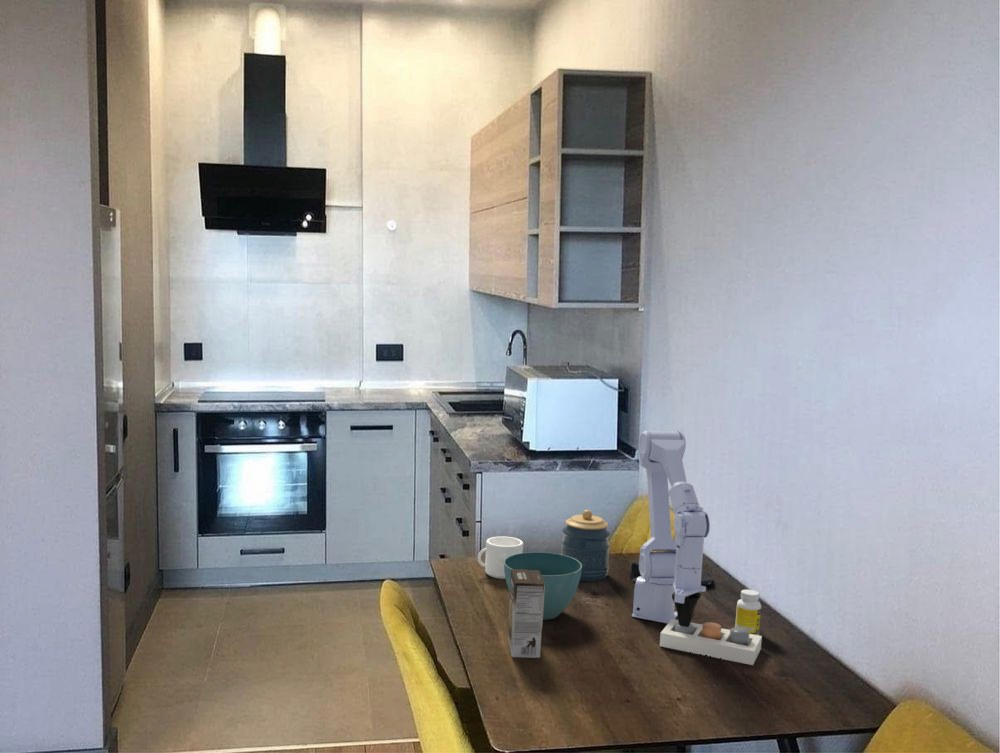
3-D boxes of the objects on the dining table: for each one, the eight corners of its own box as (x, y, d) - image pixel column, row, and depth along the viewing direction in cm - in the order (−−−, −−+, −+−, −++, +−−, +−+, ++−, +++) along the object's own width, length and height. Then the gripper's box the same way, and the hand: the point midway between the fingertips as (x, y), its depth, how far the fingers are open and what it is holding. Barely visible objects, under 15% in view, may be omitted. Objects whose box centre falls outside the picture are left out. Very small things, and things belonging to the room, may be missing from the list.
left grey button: (672, 638, 211) (673, 626, 211) (676, 632, 215) (677, 620, 215) (690, 642, 210) (691, 629, 209) (694, 636, 213) (695, 624, 213)
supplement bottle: (759, 639, 216) (763, 597, 215) (735, 636, 217) (738, 594, 216) (758, 630, 222) (761, 589, 221) (734, 628, 223) (737, 587, 222)
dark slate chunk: (713, 593, 248) (714, 575, 248) (627, 584, 252) (629, 567, 252) (711, 575, 263) (712, 558, 263) (630, 567, 267) (631, 551, 267)
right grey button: (727, 644, 206) (728, 632, 206) (731, 638, 210) (732, 626, 210) (746, 648, 205) (747, 635, 204) (749, 642, 208) (750, 629, 208)
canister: (554, 567, 263) (558, 503, 261) (600, 566, 265) (604, 504, 263) (566, 582, 250) (570, 516, 248) (614, 582, 252) (618, 516, 250)
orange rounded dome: (699, 639, 209) (700, 626, 208) (703, 633, 212) (704, 621, 212) (718, 642, 207) (719, 630, 207) (722, 636, 211) (723, 624, 210)
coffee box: (506, 641, 208) (510, 568, 207) (536, 641, 209) (540, 569, 207) (510, 657, 199) (514, 582, 198) (541, 658, 200) (545, 582, 198)
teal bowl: (533, 633, 213) (536, 579, 212) (486, 608, 228) (488, 557, 227) (594, 619, 224) (598, 568, 223) (546, 595, 239) (548, 547, 237)
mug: (481, 582, 247) (483, 548, 246) (472, 570, 256) (473, 536, 256) (526, 580, 250) (528, 546, 249) (515, 568, 260) (517, 535, 259)
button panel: (659, 646, 209) (660, 632, 209) (670, 631, 219) (671, 618, 218) (753, 665, 201) (754, 651, 201) (760, 649, 211) (761, 636, 210)
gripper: (699, 577, 202) (695, 639, 204) (713, 560, 216) (709, 618, 217) (666, 571, 205) (662, 633, 207) (682, 554, 218) (678, 612, 220)
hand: (684, 625), depth 212 cm, fingers closed, pressing on left grey button
